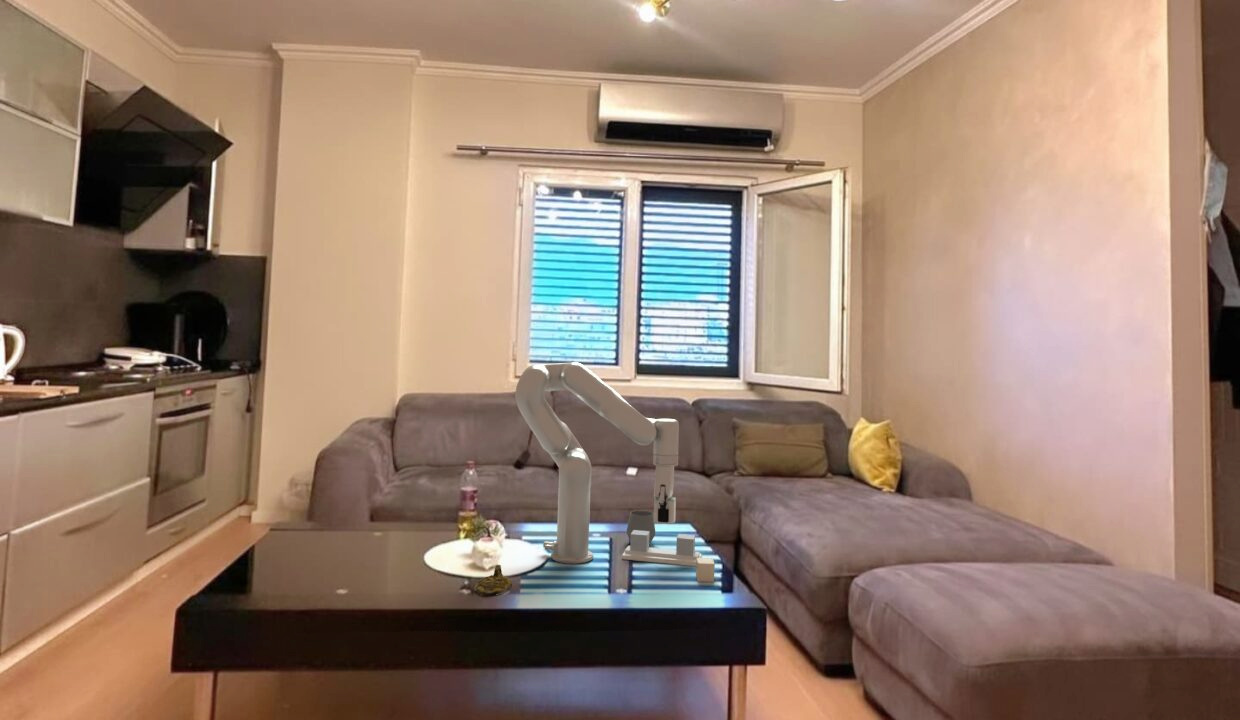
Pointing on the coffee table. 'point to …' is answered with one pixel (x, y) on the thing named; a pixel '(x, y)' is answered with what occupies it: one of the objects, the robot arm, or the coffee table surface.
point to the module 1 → (670, 506)
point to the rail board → (661, 550)
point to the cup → (641, 523)
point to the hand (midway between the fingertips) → (664, 519)
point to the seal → (493, 584)
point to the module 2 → (705, 569)
